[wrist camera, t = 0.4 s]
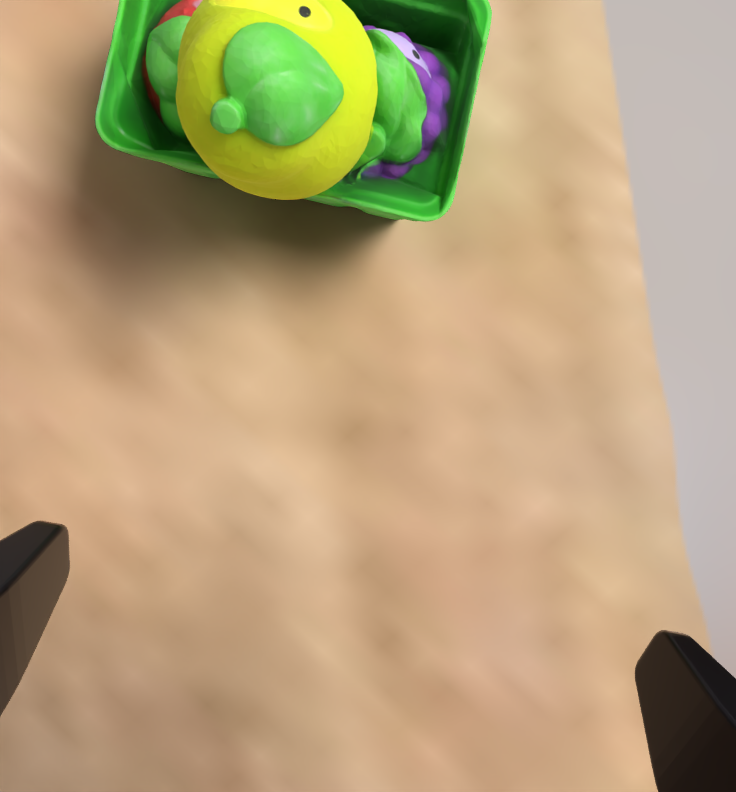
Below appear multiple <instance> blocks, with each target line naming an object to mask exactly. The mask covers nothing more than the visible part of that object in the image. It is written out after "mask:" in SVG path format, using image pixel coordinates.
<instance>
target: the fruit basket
mask: <svg viewBox="0 0 736 792" xmlns="http://www.w3.org/2000/svg"><path fill="white" fill-rule="evenodd" d="M491 16H492V11H491V7H490V4H489V2H488V0H119V6H118V12H117V17H116V21H115V26H114V30H113V35H112V42H111V46H110V50H109V54H108V58H107V62H106V67H105V72H104V77H103V81H102V85H101V90H100V95H99V100H98V104H97V108H96V115H95V124H96V129H97V132H98V134H99V135H100V137H101V138H102V140H103V141H104V142H105V143H106V144H107V145H108V146H110V147H112V148H113V149H115V150H119V151H122V152H124V153H127V154H130V155H133V156H137V157H140V158H145V159H149V160H153V161H158V162H162V163H165V164H167V165H169V166H172V167H175V168H177V169H180V170H182V171H185V172H188V173H192V174H196V175H201V176H205V177H210V178H221V179H223V180H224V181H225V182H227V183H229V184H230V185H232V186H234V187H235V188H238V189H240V190H242V191H244V192H247V193H250V194H253V195H257V196H260V197H265V198H271V199H280V200H294V199H302V198H303V199H306V200H310V201H315V202H319V203H323V204H327V205H331V206H336V207H345V206H351V207H355V208H358V209H360V210H362V211H363V212H365V213H367V214H371V215H376V216H380V217H384V218H389V219H393V220H400V219H407V220H411V221H433V220H436V219H439V218H440V217H442V216H443V215H444V214H445V213H446V212H447V211H448V209H449V208H450V206H451V204H452V202H453V199H454V194H455V190H456V184H457V178H458V172H459V168H460V164H461V160H462V156H463V151H464V147H465V141H466V137H467V132H468V127H469V123H470V117H471V113H472V108H473V103H474V98H475V94H476V90H477V84H478V80H479V75H480V70H481V66H482V62H483V58H484V54H485V49H486V44H487V39H488V35H489V30H490V24H491Z"/></svg>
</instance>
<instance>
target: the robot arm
mask: <svg viewBox="0 0 736 792" xmlns="http://www.w3.org/2000/svg"><path fill="white" fill-rule="evenodd" d="M69 568H70V560H69V535H68V530H67V527H66V526H64V525H62V524H57V523H51V522H45V521H36V522H33V523H30V524H29V525H27V526H25V527H23V528H22V529H20V530H18V531H16V532H14V533H13V534H11V535H9V536H7V537H6V538H4V539H2V540H0V716H1V714H2V713H3V711H4V709H5V707H6V706H7V704H8V702H9V701H10V699H11V697H12V695H13V694H14V692H15V690H16V688H17V686H18V685H19V683H20V681H21V679H22V676H23V674H24V672H25V670H26V668H27V666H28V664H29V662H30V660H31V657H32V655H33V653H34V651H35V649H36V647H37V644H38V642H39V640H40V638H41V636H42V633H43V631H44V629H45V627H46V625H47V623H48V620H49V618H50V616H51V614H52V612H53V609H54V607H55V605H56V603H57V601H58V599H59V596H60V594H61V592H62V590H63V588H64V586H65V583H66V581H67V578H68V574H69ZM635 681H636V686H637V691H638V697H639V702H640V707H641V712H642V717H643V723H644V728H645V733H646V738H647V743H648V748H649V754H650V759H651V764H652V768H653V773H654V777H655V782H656V786H657V789H658V792H736V679H735V678H734V677H733V676H732V675H731V674H730V673H729V672H728V671H727V670H726V669H725V668H724V667H722V666H721V665H720V664H719V663H718V662H717V661H716V660H715V659H714V658H713V657H712V656H711V655H710V654H709V653H707V652H706V651H705V650H704V649H703V648H702V647H701V646H700V645H699V644H698V643H697V642H696V641H695V640H693V639H692V638H691V637H690V636H688V635H686V634H683V633H678V632H672V631H666V630H661V631H659V632H658V633H656V634H655V636H654V637H653V639H652V640H651V642H650V643H649V645H648V646H647V648H646V649H645V651H644V653H643V654H642V656H641V657H640V659H639V660H638V662H637V665H636V668H635Z"/></svg>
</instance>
